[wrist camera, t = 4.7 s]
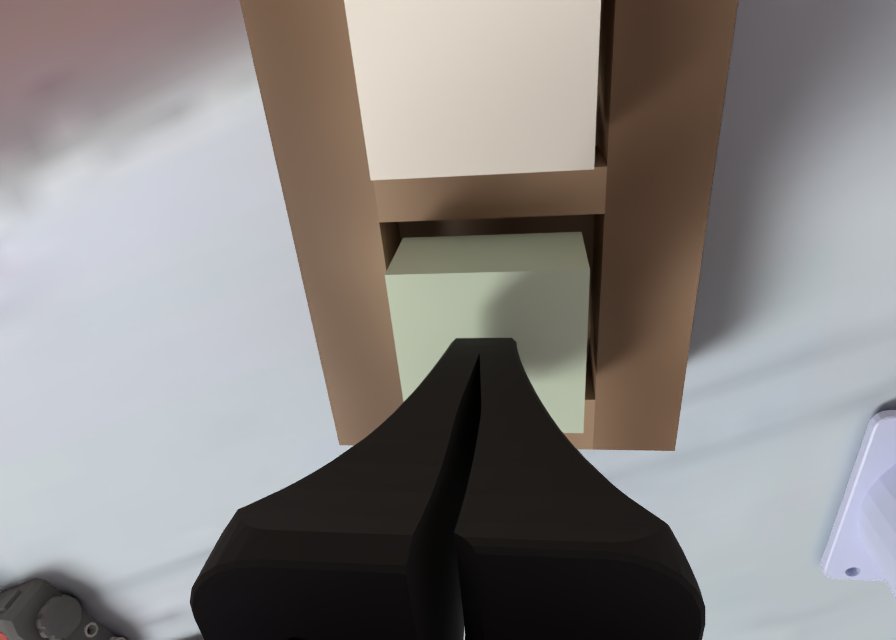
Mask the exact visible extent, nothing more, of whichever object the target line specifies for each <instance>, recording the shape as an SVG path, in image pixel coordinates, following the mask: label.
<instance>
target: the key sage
mask: <svg viewBox="0 0 896 640" xmlns="http://www.w3.org/2000/svg"><path fill="white" fill-rule="evenodd" d="M385 280H386V287H387V294H388V301H389V307H390V314H391V321H392V328H393V334H394V341H395V348H396V355H397V361H398V368H399V375H400V382H401V388H402V395H403V402H404V401H405V400H406V399H407V398H408V397H409V396H410V395H411V394H412V393H413V392H414V390H415V389H416V388H417V387H418V386H419V385H420V383H421V382H422V381H423V380H424V378H425V377H426V376H427V375H428V374H429V372H430V371H431V370H432V369H433V367H434V366H435V365H436V363H437V362H438V361H439V359H440V358H441V357H442V355H443V354H444V353H445V351H446V350H447V348H448V347H449V345H450V344H451V343H452V342H453V341H454V340H455V339H456V338H513V339H514V340H515V341H516V342H517V349H518V353H519V357H520V360H521V362H522V365H523V367H524V370H525V372H526V374H527V376H528V378H529V380H530V382H531V384H532V386H533V388H534V390H535V392H536V393H537V395H538V397H539V399H540V400H541V402H542V404H543V405H544V407H545V408H546V410H547V411H548V413H549V414H550V416H551V417H552V419H553V420H554V421H555V423H556V424H557V426H558V427H559V428H560V430H561V431H562V432H563V433H583V432H584V407H585V383H586V358H587V333H588V308H589V284H590V267H589V263H588V258H587V254H586V249H585V245H584V241H583V236H582V232H557V233H529V234H500V235H471V236H442V237H413V238H403V239H402V241H401V243H400V245H399V247H398V249H397V251H396V253H395V255H394V257H393V259H392V261H391V263H390V265H389V267H388V269H387V271H386V273H385Z"/></svg>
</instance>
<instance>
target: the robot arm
mask: <svg viewBox="0 0 896 640" xmlns="http://www.w3.org/2000/svg"><path fill="white" fill-rule="evenodd" d="M821 568H822V570H823V572H824V574H825V575H826V576H827V577H829V578H833V579H848V580H870V581H886V583H887V585H888V586H889V588H890V590H891V591H892V593H893V595H894V596H895V598H896V410H885V411H881V412H879V413H877V414H875V415H874V416H873V417H872V418H871V420H870V421H869V424H868V426H867V429H866V432H865V435H864V438H863V441H862V444H861V447H860V450H859V453H858V456H857V458H856V461H855V464H854V467H853V470H852V473H851V476H850V479H849V482H848V485H847V488H846V491H845V493H844V496H843V499H842V502H841V505H840V508H839V511H838V514H837V517H836V520H835V523H834V525H833V528H832V531H831V534H830V537H829V540H828V543H827V546H826V549H825V552H824V555H823V558H822V560H821ZM190 605H191V608H192V612H193V615H194V618H195V621H196V623H197V625H198V627H199V629H200V631H201V633H202V635H203V638H204V640H463V637H464V627H465V640H702V636H703V632H704V627H705V605H704V602H703V598H702V595H701V591H700V589H699V586H698V583H697V581H696V578H695V576H694V574H693V572H692V569H691V567H690V565H689V563H688V561H687V559H686V556H685V554H684V552H683V550H682V548H681V547H680V545H679V543H678V541H677V539H676V537H675V536H674V534H673V532H672V530H671V529H670V527H669V525H668V524H667V523H665V522H664V521H662V520H661V519H660V518H658V517H657V516H655V515H654V514H652V513H651V512H649V511H648V510H646V509H645V508H643V507H642V506H640V505H639V504H638V503H636V502H635V501H633V500H632V499H630V498H629V497H628V496H626V495H625V494H624V493H622V492H621V491H620V490H619V489H618V488H616V487H615V486H614V485H613V484H611V483H610V482H609V481H608V480H607V479H606V478H605V477H604V476H603V475H602V474H601V473H600V472H599V471H598V470H597V469H596V468H595V467H594V466H593V465H592V464H591V463H589V462H588V461H587V460H586V459H585V458H584V457H583V456H582V454H581V453H580V452H579V451H578V450H577V449H576V448H575V447H574V445H573V444H572V443H571V442H570V441H569V440H568V438H567V437H566V436H565V435H564V433H563V432H562V431H561V430H560V428H559V427H558V426H557V424H556V423H555V421H554V420H553V419H552V417H551V416H550V414H549V413H548V411H547V410H546V408H545V407H544V405H543V404H542V402H541V400H540V399H539V397H538V395H537V393H536V392H535V390H534V388H533V386H532V384H531V382H530V380H529V378H528V376H527V374H526V372H525V370H524V367H523V365H522V362H521V360H520V357H519V353H518V349H517V342H516V341H515V340H514V339H513V338H456V339H455V340H454V341H453V342H452V343H451V344H450V345H449V347H448V348H447V350H446V351H445V353H444V354H443V355H442V357H441V358H440V359H439V361H438V362H437V363H436V365H435V366H434V367H433V369H432V370H431V371H430V372H429V374H428V375H427V376H426V377H425V378H424V380H423V381H422V382H421V383H420V385H419V386H418V387H417V388H416V389H415V390H414V392H413V393H412V394H411V395H410V396H409V397H408V398H407V399H406V400H405V401H404V402H403V403H402V404H401V405H400V406H399V407H398V408H397V410H396V411H395V412H394V413H393V414H392V415H391V416H389V417H388V418H387V419H386V420H385V421H384V422H383V423H382V424H381V425H380V426H379V427H377V428H376V429H375V430H374V431H373V432H372V433H370V434H369V435H368V436H367V437H365V438H364V439H363V440H361V441H360V442H359V443H357V444H356V445H354V446H353V447H351V448H350V449H349V450H347V451H346V452H344V453H343V454H342V455H340V456H339V457H337V458H336V459H334V460H333V461H331V462H330V463H328V464H327V465H325V466H323V467H322V468H320V469H318V470H317V471H315V472H313V473H312V474H310V475H308V476H306V477H304V478H303V479H301V480H299V481H297V482H295V483H294V484H292V485H290V486H288V487H286V488H284V489H282V490H280V491H278V492H275V493H273V494H271V495H269V496H267V497H265V498H262V499H260V500H258V501H256V502H254V503H252V504H250V505H247V506H245V507H243V508H240V509H238V510H237V512H236V513H235V515H234V516H233V518H232V519H231V521H230V522H229V524H228V525H227V527H226V528H225V530H224V531H223V533H222V534H221V536H220V538H219V540H218V541H217V543H216V545H215V547H214V549H213V550H212V552H211V554H210V556H209V558H208V559H207V561H206V563H205V565H204V567H203V569H202V570H201V572H200V574H199V576H198V578H197V580H196V581H195V583H194V585H193V587H192V590H191V598H190Z"/></svg>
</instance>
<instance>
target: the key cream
mask: <svg viewBox="0 0 896 640" xmlns="http://www.w3.org/2000/svg"><path fill="white" fill-rule="evenodd" d="M344 4H345V11H346V17H347V24H348V31H349V38H350V44H351V51H352V58H353V65H354V71H355V78H356V85H357V92H358V98H359V105H360V112H361V119H362V125H363V132H364V139H365V145H366V152H367V159H368V166H369V172H370V179H371V180H391V179H411V178H431V177H452V176H472V175H492V174H512V173H533V172H553V171H573V170H593V169H594V160H595V135H596V110H597V86H598V61H599V36H600V11H601V0H344Z"/></svg>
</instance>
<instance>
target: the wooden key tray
mask: <svg viewBox="0 0 896 640" xmlns="http://www.w3.org/2000/svg"><path fill="white" fill-rule="evenodd" d="M240 4H241V8H242V13H243V17H244V22H245V26H246V31H247V35H248V39H249V44H250V48H251V53H252V57H253V62H254V66H255V71H256V75H257V80H258V84H259V88H260V93H261V97H262V102H263V106H264V111H265V115H266V120H267V124H268V128H269V133H270V137H271V142H272V146H273V151H274V155H275V160H276V164H277V169H278V173H279V177H280V182H281V186H282V191H283V195H284V200H285V204H286V209H287V213H288V218H289V222H290V226H291V231H292V235H293V240H294V244H295V249H296V253H297V258H298V262H299V266H300V271H301V275H302V280H303V284H304V289H305V293H306V298H307V302H308V307H309V311H310V315H311V320H312V324H313V329H314V333H315V338H316V342H317V347H318V351H319V355H320V360H321V364H322V369H323V373H324V378H325V382H326V387H327V391H328V396H329V400H330V404H331V409H332V413H333V418H334V422H335V427H336V431H337V436H338V440H339V444H340V445H356V444H357V443H359V442H360V441H361V440H363V439H364V438H365V437H367V436H368V435H369V434H370V433H372V432H373V431H374V430H375V429H376V428H377V427H379V426H380V425H381V424H382V423H383V422H384V421H385V420H386V419H387V418H388V417H389V416H391V415H392V414H393V413H394V412H395V411H396V410H397V408H398V407H399V406H400V405H401V404H402V403H403V395H402V388H401V382H400V375H399V368H398V361H397V355H396V348H395V341H394V334H393V328H392V321H391V314H390V307H389V301H388V294H387V287H386V280H385V273H386V271H387V269H388V267H389V265H390V263H391V261H392V259H393V257H394V255H395V253H396V251H397V249H398V247H399V245H400V243H401V241H402V239H403V238H413V237H442V236H471V235H500V234H529V233H557V232H582V236H583V241H584V245H585V249H586V254H587V258H588V263H589V267H590V284H589V308H588V333H587V358H586V383H585V407H584V432H583V433H564V435H565V436H566V437H567V438H568V440H569V441H570V442H571V443H572V444H573V445H574V447H575V448H576V449H601V450H659V451H675V445H676V438H677V431H678V424H679V417H680V410H681V402H682V395H683V388H684V381H685V374H686V367H687V360H688V353H689V346H690V339H691V332H692V325H693V317H694V310H695V303H696V296H697V289H698V282H699V275H700V268H701V261H702V254H703V247H704V240H705V233H706V225H707V218H708V211H709V204H710V197H711V190H712V183H713V176H714V169H715V162H716V155H717V148H718V140H719V133H720V126H721V119H722V112H723V105H724V98H725V91H726V84H727V77H728V70H729V63H730V55H731V48H732V41H733V34H734V27H735V20H736V13H737V6H738V0H601V11H600V36H599V61H598V86H597V110H596V135H595V160H594V169H593V170H573V171H553V172H533V173H512V174H492V175H472V176H452V177H431V178H411V179H391V180H371V179H370V172H369V166H368V159H367V152H366V145H365V139H364V132H363V125H362V119H361V112H360V105H359V98H358V92H357V85H356V78H355V71H354V65H353V58H352V51H351V44H350V38H349V31H348V24H347V17H346V11H345V4H344V0H240Z"/></svg>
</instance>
